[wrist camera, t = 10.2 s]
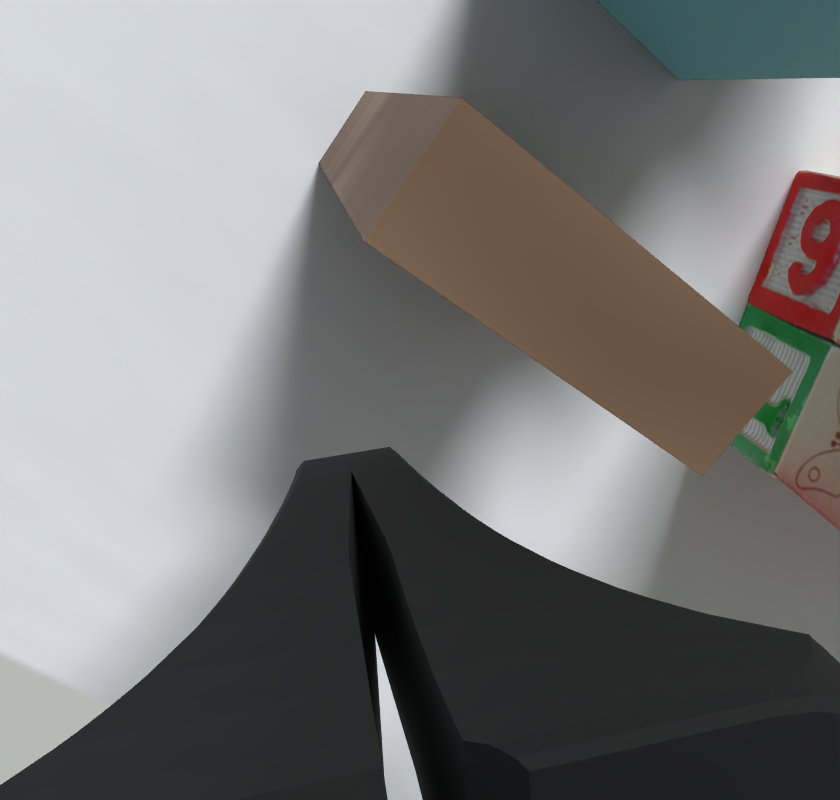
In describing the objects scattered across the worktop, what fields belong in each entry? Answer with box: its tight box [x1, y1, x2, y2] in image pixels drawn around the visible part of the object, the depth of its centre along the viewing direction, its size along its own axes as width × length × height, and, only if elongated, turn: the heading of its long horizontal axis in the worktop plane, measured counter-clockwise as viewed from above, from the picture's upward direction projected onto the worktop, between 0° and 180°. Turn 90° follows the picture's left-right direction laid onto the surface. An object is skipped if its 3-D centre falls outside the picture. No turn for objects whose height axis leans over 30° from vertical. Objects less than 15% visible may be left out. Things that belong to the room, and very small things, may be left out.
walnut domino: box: [319, 91, 793, 476], centre depth 12 cm, size 2×5×8 cm, turn 54°
